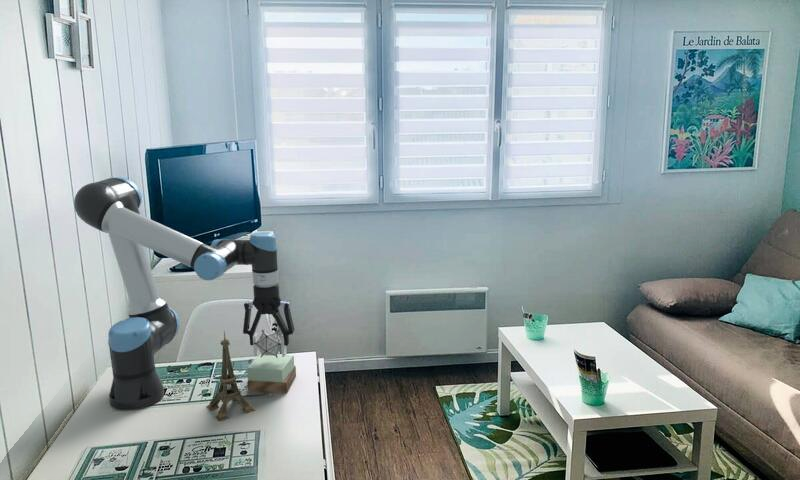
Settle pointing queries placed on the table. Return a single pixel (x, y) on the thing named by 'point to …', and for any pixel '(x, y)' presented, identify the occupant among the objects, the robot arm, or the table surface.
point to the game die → (269, 343)
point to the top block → (270, 368)
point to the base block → (272, 385)
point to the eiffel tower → (226, 392)
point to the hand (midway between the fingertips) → (270, 354)
